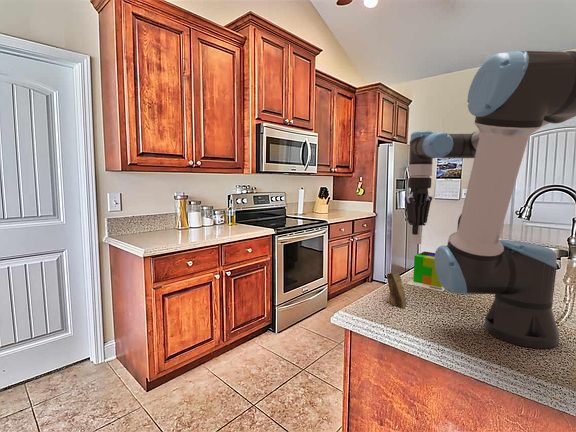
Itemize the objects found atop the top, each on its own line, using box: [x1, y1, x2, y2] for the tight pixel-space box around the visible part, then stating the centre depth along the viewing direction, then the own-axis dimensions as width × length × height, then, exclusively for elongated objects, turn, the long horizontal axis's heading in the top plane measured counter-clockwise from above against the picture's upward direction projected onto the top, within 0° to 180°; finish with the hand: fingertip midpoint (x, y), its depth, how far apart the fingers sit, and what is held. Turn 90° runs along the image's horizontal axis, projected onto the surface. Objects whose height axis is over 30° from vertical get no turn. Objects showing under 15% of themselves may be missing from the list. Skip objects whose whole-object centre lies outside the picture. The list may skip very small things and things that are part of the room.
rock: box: [386, 271, 407, 309], centre depth 103 cm, size 11×9×10 cm
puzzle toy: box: [413, 251, 442, 288], centre depth 123 cm, size 10×10×10 cm
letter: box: [405, 279, 446, 292], centre depth 123 cm, size 18×13×1 cm
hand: (416, 243), depth 116 cm, fingers closed
